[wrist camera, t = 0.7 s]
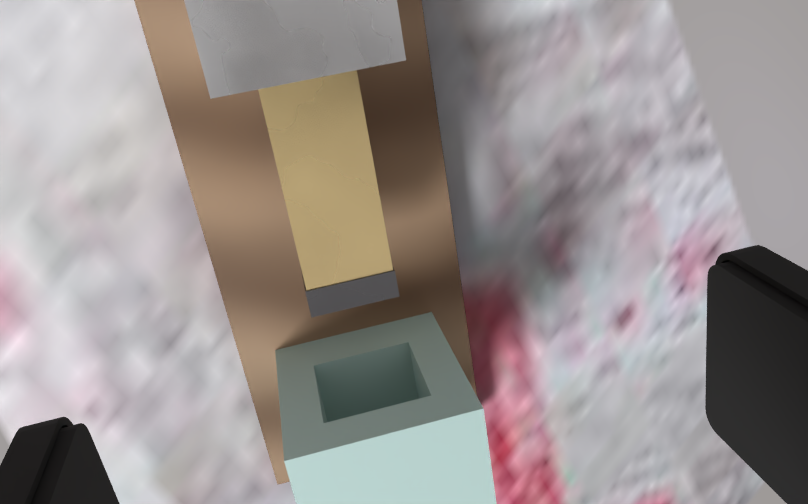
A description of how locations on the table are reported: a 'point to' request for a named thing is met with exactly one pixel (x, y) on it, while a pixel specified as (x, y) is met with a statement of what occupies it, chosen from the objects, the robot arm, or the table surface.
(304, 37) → the steel sleeve
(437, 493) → the sage socket block
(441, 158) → the walnut base board
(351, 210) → the brass inner tube
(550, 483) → the table surface
